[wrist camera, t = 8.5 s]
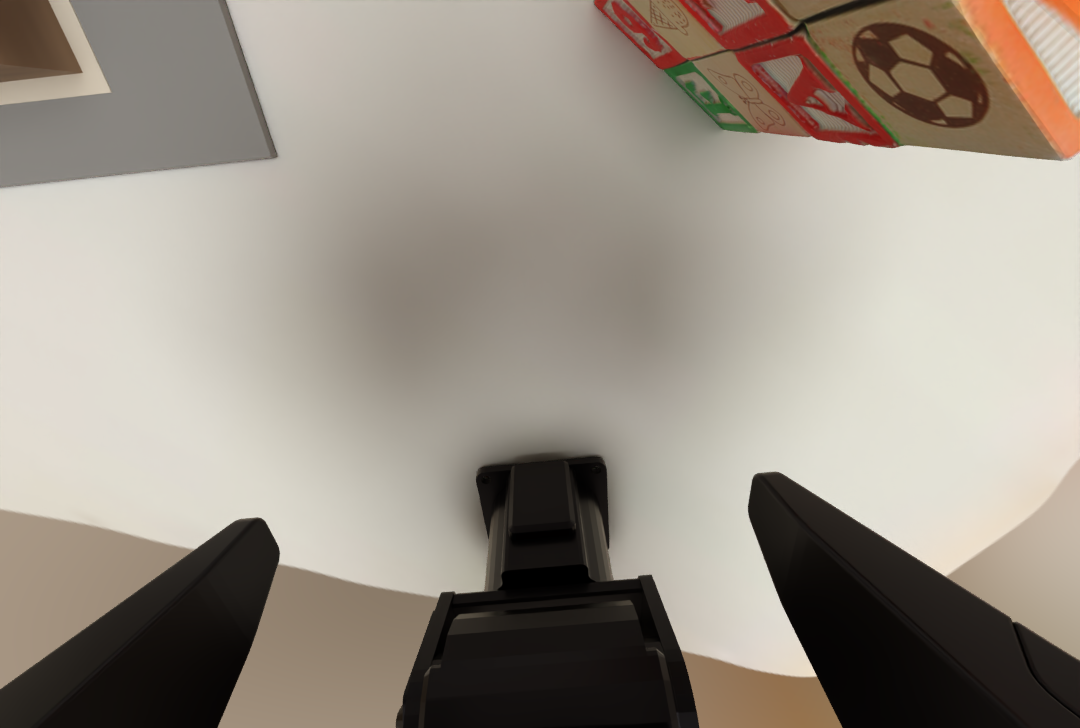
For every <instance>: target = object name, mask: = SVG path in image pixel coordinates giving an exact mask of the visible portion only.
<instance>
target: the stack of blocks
mask: <svg viewBox="0 0 1080 728" xmlns="http://www.w3.org/2000/svg"><path fill="white" fill-rule="evenodd" d="M594 3H595V5H596V7H597V8H598V9H599V10H600V11H602V12H603V13H604V15H605V16H606V17H608V18H609V19H610V20H611V21H612V22H613V23H614V24H615V25H616V26H617V27H618V28H619V29H620V30H621V31H622V32H623V33H624V34H625V35H626V36H627V37H628V38H629V39H630V40H631V41H632V42H633V43H634V44H635V45H636V46H637V47H638V48H639V49H640V50H641V51H642V52H643V53H644V54H645V55H646V56H647V57H648V58H649V59H651V60H652V61H653V63H654V64H655V65H656V66H657V67H658V68H660V69H662V70H664V71H665V72H666V73H667V74H668V75H669V76H670V77H671V78H672V79H673V80H674V81H675V82H676V83H677V84H678V85H679V86H680V87H681V88H682V89H683V90H684V91H685V92H686V93H687V94H688V95H689V96H690V97H691V98H692V99H693V100H694V101H695V102H696V103H697V104H698V105H699V106H700V107H701V108H702V109H703V110H704V111H705V112H706V113H707V114H708V115H709V116H710V117H711V118H712V119H713V120H714V121H715V122H716V123H717V124H718V125H719V126H720V127H721V128H722V129H724V130H730V131H738V132H749V133H760V132H765V133H773V134H781V135H790V136H801V137H810V136H812V137H814V138H816V139H817V140H823V141H830V142H836V143H846V142H847V143H852V144H857V145H863V146H865V145H869V144H870V145H872V146H878V147H887V148H896V147H900V146H904V145H911V146H921V147H931V148H941V149H951V150H960V151H970V152H979V153H987V154H996V155H1005V156H1015V157H1026V158H1036V159H1047V160H1059V161H1064V160H1071V159H1072V158H1073V157H1075V156H1076V155H1077V154H1078V153H1080V0H594Z"/></svg>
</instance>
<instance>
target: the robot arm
mask: <svg viewBox="0 0 1080 728" xmlns="http://www.w3.org/2000/svg"><path fill="white" fill-rule="evenodd" d="M595 466H599V468H596V469H594V468H593V467H595ZM484 476H488V477H490V478H484ZM476 483H477V487H478V492H479V497H480V501H481V506H482V511H483V516H484V520H485V525H486V530H487V534H488V539H489V546H488V557H487V568H486V579H485V590H484V591H482V592H471V593H459V594H456V593H455V592H442V593H441V595H440V597H439V600H438V603H437V606H436V609H435V611H433V613H432V616H431V618H430V621H429V624H428V627H427V630H426V633H425V635H424V638H423V641H422V644H421V647H420V649H419V652H418V655H417V658H416V661H415V663H414V666H413V669H412V672H411V675H410V677H409V680H408V683H407V686H406V689H405V691H404V695H403V705H402V706H401V708H400V710H399V712H398V714H397V719H396V728H699V723H698V717H697V711H696V706H695V701H694V697H693V692H692V689H691V684H690V680H689V676H688V672H687V669H686V665H685V662H684V659H683V656H682V653H681V650H680V647H679V645H678V642H677V639H676V637H675V634H674V632H673V629H672V626H671V624H670V621H669V619H668V616H667V613H666V611H665V608H664V606H663V603H662V601H661V598H660V595H659V593H658V590H657V588H656V585H655V582H654V580H653V577H652V575H643V576H638V578H636V579H624V580H613V576H612V570H611V565H610V559H609V554H608V549H609V524H608V497H607V470H606V465H605V461H604V460H603V459H602V458H600V457H589V458H578V459H567V460H556V461H545V462H534V463H523V464H512V465H501V466H490V467H483V468H481V469H479V470H478V472H477V476H476ZM748 513H749V518H750V521H751V524H752V527H753V529H754V532H755V535H756V538H757V540H758V543H759V546H760V548H761V551H762V554H763V556H764V559H765V562H766V564H767V567H768V570H769V573H770V575H771V578H772V581H773V583H774V586H775V589H776V591H777V594H778V596H779V599H780V601H781V603H782V606H783V608H784V610H785V612H786V614H787V616H788V618H789V620H790V622H791V624H792V626H793V628H794V630H795V633H796V635H797V637H798V639H799V641H800V643H801V645H802V647H803V649H804V651H805V653H806V655H807V657H808V659H809V661H810V663H811V665H812V667H813V669H814V671H815V673H816V675H817V677H818V679H819V681H820V683H821V685H822V687H823V689H824V691H825V693H826V695H827V697H828V699H829V701H830V703H831V705H832V707H833V709H834V711H835V713H836V715H837V717H838V719H839V721H840V723H841V725H842V727H843V728H1080V660H1078V659H1076V658H1075V657H1073V656H1071V655H1070V654H1068V653H1067V652H1065V651H1063V650H1062V649H1060V648H1059V647H1057V646H1055V645H1054V644H1052V643H1050V642H1049V641H1047V640H1046V639H1044V638H1043V637H1041V636H1039V635H1038V634H1036V633H1035V632H1033V631H1031V630H1029V629H1028V628H1027V627H1025V626H1023V625H1022V624H1020V623H1018V622H1012V620H1011V618H1010V617H1009V616H1007V615H1006V614H1004V613H1002V612H1001V611H999V610H998V609H996V608H995V607H993V606H991V605H990V604H988V603H987V602H985V601H983V600H982V599H980V598H979V597H977V596H975V595H974V594H972V593H971V592H969V591H967V590H966V589H964V588H963V587H961V586H959V585H958V584H956V583H955V582H953V581H952V580H950V579H949V578H947V577H945V576H944V575H942V574H941V573H939V572H937V571H936V570H934V569H933V568H931V567H929V566H928V565H926V564H925V563H923V562H922V561H920V560H918V559H917V558H915V557H914V556H912V555H910V554H909V553H907V552H906V551H904V550H902V549H901V548H899V547H898V546H896V545H895V544H893V543H891V542H890V541H888V540H887V539H885V538H883V537H882V536H880V535H879V534H877V533H875V532H874V531H872V530H871V529H869V528H868V527H866V526H864V525H863V524H861V523H860V522H858V521H856V520H855V519H853V518H852V517H850V516H848V515H847V514H845V513H844V512H842V511H841V510H839V509H837V508H836V507H834V506H833V505H831V504H829V503H828V502H826V501H825V500H823V499H822V498H820V497H818V496H817V495H815V494H814V493H812V492H810V491H809V490H807V489H806V488H804V487H802V486H801V485H799V484H798V483H796V482H795V481H793V480H791V479H790V478H788V477H787V476H785V475H783V474H782V473H779V472H766V473H757V474H755V475H754V477H753V480H752V485H751V491H750V497H749V504H748ZM279 556H280V551H279V547H278V545H277V543H276V541H275V539H274V537H273V535H272V533H271V531H270V529H269V527H268V525H267V524H266V522H265V521H264V520H263V519H261V518H246V519H239V520H236V521H235V522H233V523H232V524H230V525H229V526H227V527H226V528H225V529H223V530H222V531H220V532H219V533H218V534H216V535H215V536H213V537H212V538H211V539H209V540H208V541H206V542H205V543H204V544H202V545H201V546H199V547H198V548H197V549H195V550H194V551H192V552H191V553H190V554H188V555H187V556H186V557H184V558H183V559H181V560H180V561H179V562H177V563H176V564H175V565H173V566H172V567H170V568H169V569H168V570H166V571H165V572H163V573H162V574H160V575H159V576H158V577H156V578H155V579H153V580H152V581H151V582H149V583H148V584H146V585H145V586H144V587H142V588H141V589H140V590H138V591H137V592H135V593H134V594H133V595H131V596H130V597H128V598H127V599H126V600H124V601H123V602H121V603H120V604H119V605H117V606H116V607H114V608H113V609H112V610H110V611H109V612H107V613H106V614H105V615H103V616H102V617H100V618H99V619H98V620H96V621H95V622H93V623H92V624H91V625H89V626H88V627H86V628H85V629H84V630H82V631H81V632H80V633H78V634H77V635H75V636H74V637H72V638H71V639H70V640H68V641H67V642H65V643H64V644H63V645H61V646H60V647H59V648H57V649H56V650H54V651H53V652H52V653H50V654H49V655H48V656H46V657H45V658H43V659H42V660H41V661H39V662H38V663H36V664H35V665H33V666H32V667H31V668H29V669H28V670H26V671H25V672H24V673H22V674H21V675H20V676H18V677H17V678H15V679H14V680H12V681H11V682H10V683H8V684H7V685H6V686H4V687H3V688H2V689H0V728H218V725H219V722H220V720H221V718H222V716H223V713H224V711H225V709H226V706H227V704H228V701H229V699H230V697H231V694H232V692H233V689H234V687H235V685H236V682H237V680H238V678H239V675H240V673H241V671H242V668H243V666H244V664H245V661H246V659H247V656H248V654H249V651H250V648H251V646H252V643H253V640H254V637H255V635H256V632H257V629H258V625H259V622H260V619H261V616H262V613H263V609H264V606H265V603H266V600H267V597H268V594H269V591H270V587H271V584H272V581H273V577H274V575H275V572H276V568H277V565H278V562H279Z"/></svg>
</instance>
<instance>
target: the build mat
mask: <svg viewBox="0 0 1080 728" xmlns="http://www.w3.org/2000/svg"><path fill="white" fill-rule="evenodd" d="M48 1H49V3H50V5H51V7H52V9H53V11H54V13H55V15H56V17H57V19H58V21H59V24H60V26H61V28H62V30H63V32H64V34H65V36H66V38H67V40H68V42H69V44H70V47H71V49H72V51H73V53H74V55H75V57H76V59H77V61H78V63H79V65H80V68H81V70H82V72H83V73H78V74H69V75H60V76H51V77H43V78H34V79H25V80H17V81H8V82H0V187H9V186H18V185H27V184H36V183H45V182H55V181H64V180H73V179H82V178H91V177H101V176H110V175H119V174H128V173H137V172H147V171H156V170H165V169H174V168H183V167H193V166H202V165H211V164H220V163H229V162H238V161H248V160H257V159H266V158H274V157H277V155H276V152H275V149H274V146H273V143H272V140H271V137H270V134H269V131H268V128H267V125H266V122H265V119H264V116H263V113H262V110H261V107H260V104H259V101H258V98H257V95H256V92H255V89H254V86H253V83H252V80H251V77H250V74H249V71H248V68H247V65H246V63H245V60H244V57H243V54H242V51H241V48H240V45H239V42H238V39H237V36H236V33H235V30H234V27H233V24H232V21H231V18H230V15H229V12H228V9H227V6H226V3H225V0H48Z"/></svg>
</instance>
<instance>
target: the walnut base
mask: <svg viewBox="0 0 1080 728" xmlns="http://www.w3.org/2000/svg"><path fill="white" fill-rule="evenodd" d="M78 73H83V72H82V70H81V68H80V65H79V63H78V61H77V59H76V57H75V55H74V53H73V51H72V49H71V47H70V44H69V42H68V40H67V38H66V36H65V34H64V32H63V30H62V28H61V26H60V24H59V21H58V19H57V17H56V15H55V13H54V11H53V9H52V7H51V5H50V3H49V1H48V0H0V82H8V81H17V80H25V79H34V78H43V77H51V76H60V75H69V74H78Z"/></svg>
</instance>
